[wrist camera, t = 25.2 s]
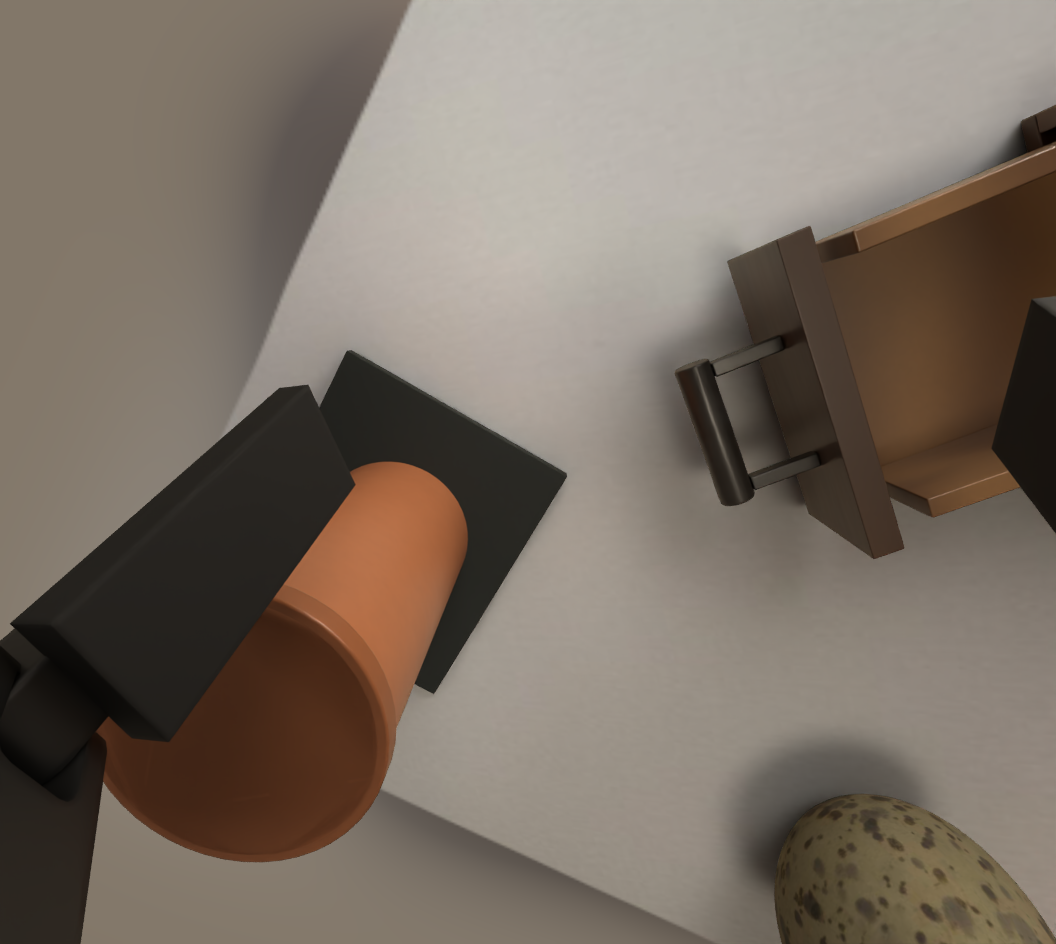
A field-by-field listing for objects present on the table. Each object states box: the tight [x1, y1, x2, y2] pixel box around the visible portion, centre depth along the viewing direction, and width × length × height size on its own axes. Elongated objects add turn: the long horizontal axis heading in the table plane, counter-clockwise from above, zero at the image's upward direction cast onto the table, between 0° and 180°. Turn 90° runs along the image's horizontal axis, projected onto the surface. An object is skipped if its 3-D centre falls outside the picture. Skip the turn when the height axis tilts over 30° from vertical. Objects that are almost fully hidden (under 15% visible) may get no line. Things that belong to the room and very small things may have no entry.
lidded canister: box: [96, 462, 468, 862], centre depth 22 cm, size 8×8×15 cm
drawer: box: [675, 141, 1056, 559], centre depth 23 cm, size 20×12×6 cm, turn 112°
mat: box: [319, 350, 567, 694], centre depth 29 cm, size 14×12×1 cm
